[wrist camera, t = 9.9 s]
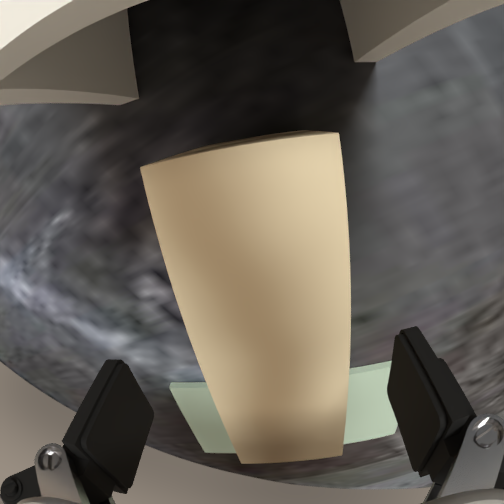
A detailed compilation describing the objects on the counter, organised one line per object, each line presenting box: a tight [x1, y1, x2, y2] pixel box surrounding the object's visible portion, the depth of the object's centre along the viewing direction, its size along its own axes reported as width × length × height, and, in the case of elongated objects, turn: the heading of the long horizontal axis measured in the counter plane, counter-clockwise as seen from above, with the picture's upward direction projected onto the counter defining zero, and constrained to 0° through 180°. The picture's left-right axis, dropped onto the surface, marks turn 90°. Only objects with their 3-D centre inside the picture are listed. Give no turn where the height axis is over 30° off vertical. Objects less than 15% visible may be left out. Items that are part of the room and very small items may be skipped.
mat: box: [169, 361, 398, 453], centre depth 22 cm, size 18×10×1 cm, turn 99°
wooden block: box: [140, 130, 351, 464], centre depth 13 cm, size 5×14×8 cm, turn 10°
